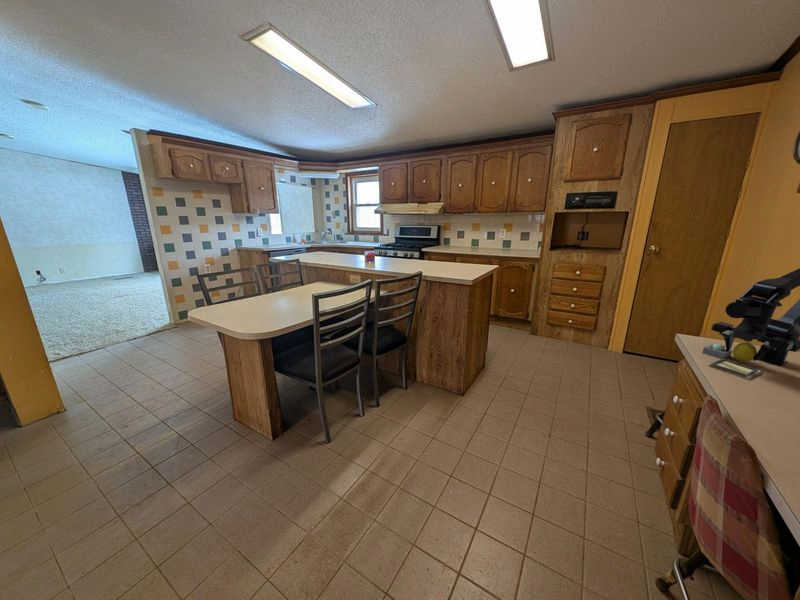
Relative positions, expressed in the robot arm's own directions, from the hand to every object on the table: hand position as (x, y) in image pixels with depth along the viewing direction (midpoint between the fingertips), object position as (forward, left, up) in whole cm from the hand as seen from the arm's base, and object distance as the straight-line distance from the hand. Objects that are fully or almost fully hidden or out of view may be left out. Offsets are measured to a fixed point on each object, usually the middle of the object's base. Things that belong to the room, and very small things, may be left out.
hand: (740, 356), depth 107 cm
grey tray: (+10, +2, -2) cm, 10 cm away
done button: (0, -6, -2) cm, 6 cm away
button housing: (0, -6, -2) cm, 6 cm away
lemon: (0, +1, -2) cm, 3 cm away
